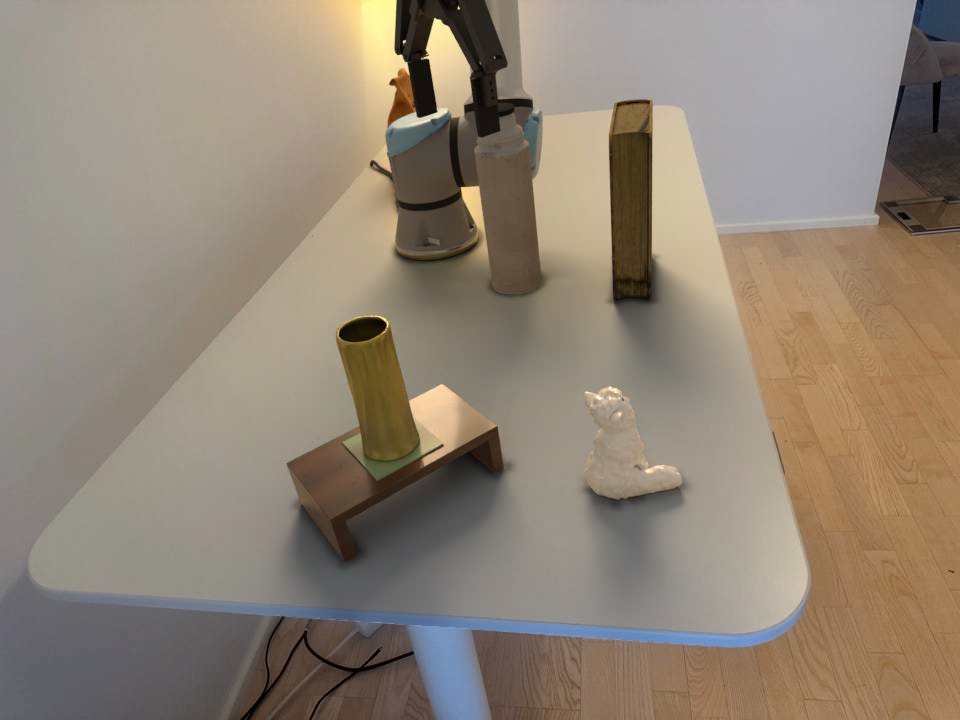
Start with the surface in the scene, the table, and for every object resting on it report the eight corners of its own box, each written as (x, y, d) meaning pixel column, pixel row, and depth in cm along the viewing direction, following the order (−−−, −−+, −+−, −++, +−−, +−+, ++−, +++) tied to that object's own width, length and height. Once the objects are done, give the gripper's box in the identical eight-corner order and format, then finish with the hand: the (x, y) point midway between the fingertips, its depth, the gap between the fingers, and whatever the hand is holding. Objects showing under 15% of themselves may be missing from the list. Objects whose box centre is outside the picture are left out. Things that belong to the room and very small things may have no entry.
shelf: (300, 503, 79) (285, 461, 76) (450, 423, 88) (442, 381, 84) (344, 562, 71) (329, 518, 68) (503, 467, 80) (497, 424, 77)
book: (618, 254, 120) (614, 101, 106) (651, 253, 118) (652, 98, 105) (613, 303, 107) (608, 135, 93) (651, 303, 105) (652, 132, 92)
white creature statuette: (686, 486, 74) (690, 393, 67) (623, 526, 71) (621, 432, 64) (623, 441, 81) (621, 353, 74) (563, 475, 78) (555, 386, 71)
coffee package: (389, 181, 165) (369, 82, 153) (402, 163, 175) (384, 68, 163) (431, 178, 163) (413, 77, 151) (442, 160, 173) (426, 64, 161)
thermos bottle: (504, 269, 120) (483, 98, 105) (548, 273, 117) (533, 97, 102) (484, 292, 115) (459, 114, 99) (530, 297, 111) (511, 114, 96)
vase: (364, 429, 79) (333, 318, 71) (419, 420, 79) (394, 308, 71) (361, 466, 74) (327, 350, 66) (420, 457, 74) (393, 340, 66)
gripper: (342, -71, 82) (381, 115, 94) (463, -77, 65) (491, 153, 77) (398, -82, 85) (428, 100, 97) (528, -90, 68) (545, 133, 80)
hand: (456, 124), depth 87 cm, fingers open, 13 cm apart
